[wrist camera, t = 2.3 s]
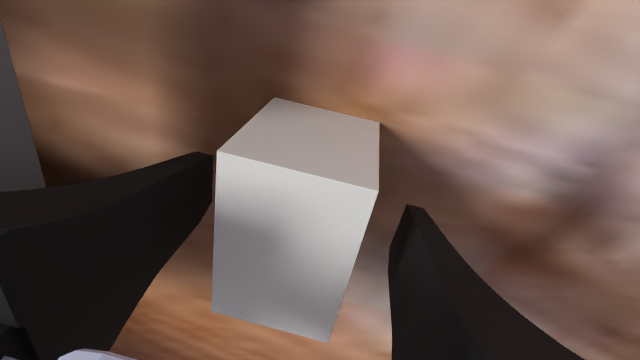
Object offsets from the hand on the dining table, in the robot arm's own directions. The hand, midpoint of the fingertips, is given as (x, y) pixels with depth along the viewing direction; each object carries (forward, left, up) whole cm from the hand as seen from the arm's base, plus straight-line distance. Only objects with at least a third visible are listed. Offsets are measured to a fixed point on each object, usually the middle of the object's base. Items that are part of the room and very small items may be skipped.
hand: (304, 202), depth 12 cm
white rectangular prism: (0, 0, -2) cm, 2 cm away
